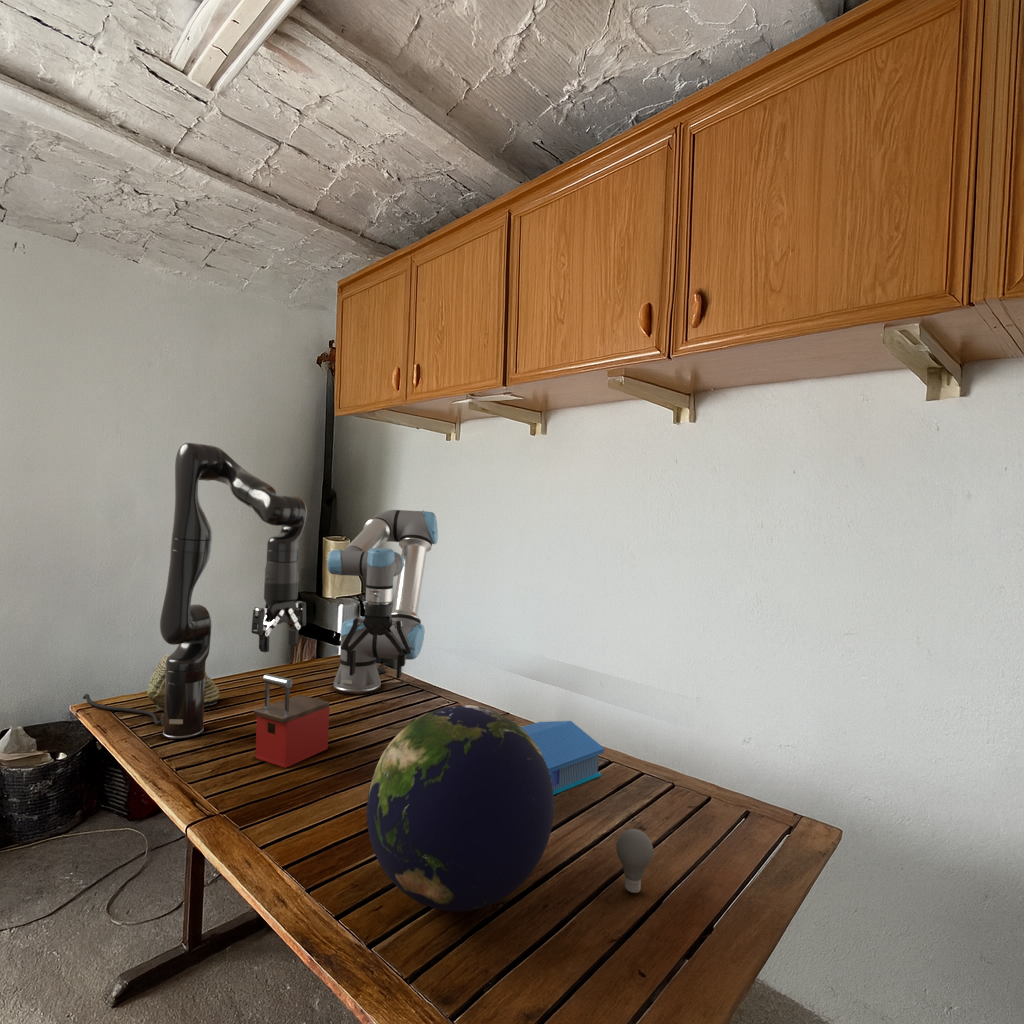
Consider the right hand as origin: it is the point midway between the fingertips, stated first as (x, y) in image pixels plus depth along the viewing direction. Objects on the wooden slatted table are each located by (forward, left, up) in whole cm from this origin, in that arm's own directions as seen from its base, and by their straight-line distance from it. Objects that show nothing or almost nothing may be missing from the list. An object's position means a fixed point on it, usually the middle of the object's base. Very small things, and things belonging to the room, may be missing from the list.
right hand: (375, 675), depth 182 cm
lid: (+28, -13, -1) cm, 31 cm away
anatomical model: (-1, +19, -12) cm, 23 cm away
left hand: (+33, -15, +15) cm, 39 cm away
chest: (+28, -13, -12) cm, 33 cm away
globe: (+78, +35, -12) cm, 86 cm away
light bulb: (+74, +64, -12) cm, 98 cm away
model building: (+37, +42, -12) cm, 58 cm away
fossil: (0, -56, -12) cm, 58 cm away
